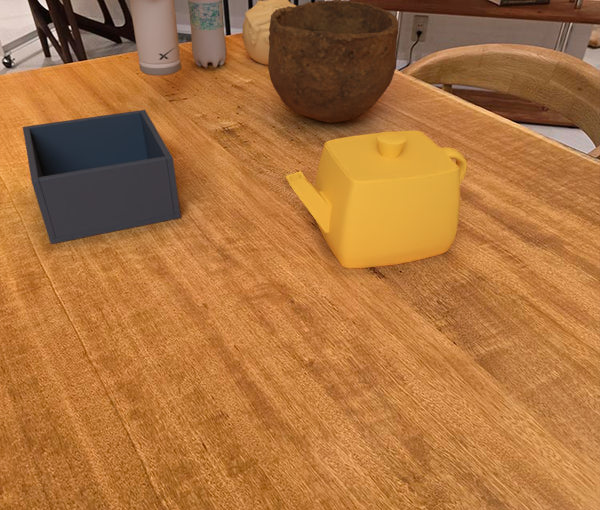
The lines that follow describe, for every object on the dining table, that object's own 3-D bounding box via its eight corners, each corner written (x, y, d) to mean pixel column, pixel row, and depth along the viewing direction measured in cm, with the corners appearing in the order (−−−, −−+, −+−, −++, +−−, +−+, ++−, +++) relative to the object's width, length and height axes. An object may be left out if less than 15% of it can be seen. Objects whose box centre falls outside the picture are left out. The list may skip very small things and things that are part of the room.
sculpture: (250, 72, 107) (248, 8, 100) (238, 52, 116) (235, -8, 109) (311, 68, 110) (312, 5, 103) (294, 48, 118) (295, -11, 112)
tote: (50, 244, 64) (31, 181, 59) (39, 184, 74) (22, 126, 69) (181, 218, 68) (173, 157, 64) (153, 165, 79) (144, 109, 74)
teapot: (302, 283, 59) (304, 177, 52) (272, 220, 68) (270, 122, 61) (479, 253, 64) (505, 152, 56) (429, 198, 73) (445, 104, 65)
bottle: (233, 60, 112) (226, -62, 100) (220, 71, 107) (211, -56, 95) (200, 57, 114) (189, -64, 101) (186, 68, 109) (172, -58, 96)
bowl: (346, 155, 82) (354, 42, 72) (244, 121, 90) (239, 16, 81) (412, 114, 93) (426, 12, 84) (316, 87, 102) (319, -8, 92)
